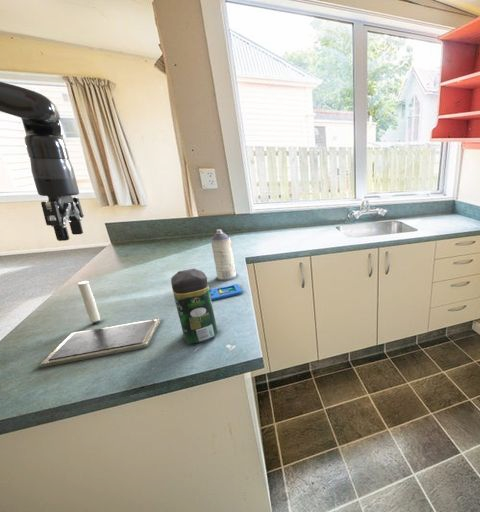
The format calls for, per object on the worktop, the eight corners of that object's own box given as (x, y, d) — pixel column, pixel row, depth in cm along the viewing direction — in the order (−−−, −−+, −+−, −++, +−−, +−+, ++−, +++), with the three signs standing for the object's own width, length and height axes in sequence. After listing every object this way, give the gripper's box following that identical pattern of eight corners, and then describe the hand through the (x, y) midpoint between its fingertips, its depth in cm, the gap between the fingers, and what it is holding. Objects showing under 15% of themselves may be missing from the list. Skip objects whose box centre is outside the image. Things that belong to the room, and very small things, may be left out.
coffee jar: (182, 332, 83) (167, 270, 77) (213, 323, 88) (202, 264, 82) (186, 348, 76) (170, 282, 70) (220, 338, 80) (208, 274, 75)
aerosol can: (239, 276, 122) (232, 229, 116) (223, 281, 117) (215, 232, 111) (230, 273, 126) (222, 227, 120) (214, 278, 120) (205, 230, 114)
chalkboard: (41, 367, 68) (39, 363, 68) (72, 336, 81) (71, 332, 80) (147, 347, 76) (145, 343, 76) (160, 321, 88) (159, 317, 88)
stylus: (90, 325, 86) (75, 284, 82) (93, 322, 88) (79, 281, 83) (99, 324, 86) (86, 283, 82) (103, 320, 88) (89, 280, 84)
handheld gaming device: (191, 292, 104) (237, 283, 113) (192, 295, 105) (237, 285, 113) (194, 301, 98) (242, 290, 107) (194, 304, 98) (242, 293, 107)
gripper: (49, 176, 82) (65, 233, 86) (17, 177, 70) (37, 243, 74) (85, 176, 85) (98, 231, 90) (61, 177, 73) (77, 241, 77)
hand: (71, 237), depth 82 cm, fingers open, 8 cm apart
